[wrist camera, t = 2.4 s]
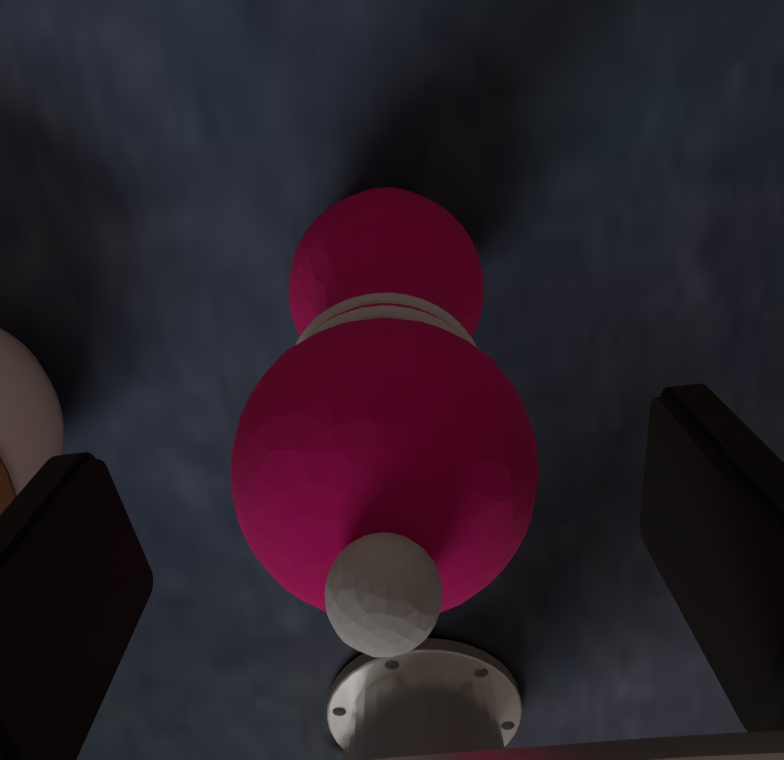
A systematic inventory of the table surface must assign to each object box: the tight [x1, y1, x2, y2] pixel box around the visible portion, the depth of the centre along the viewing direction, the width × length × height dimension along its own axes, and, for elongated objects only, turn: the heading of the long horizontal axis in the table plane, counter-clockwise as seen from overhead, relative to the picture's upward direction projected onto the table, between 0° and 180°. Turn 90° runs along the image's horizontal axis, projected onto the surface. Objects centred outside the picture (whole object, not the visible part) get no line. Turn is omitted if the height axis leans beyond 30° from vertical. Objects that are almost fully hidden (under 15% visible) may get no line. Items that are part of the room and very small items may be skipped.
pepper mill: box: [231, 187, 538, 657], centre depth 17 cm, size 7×7×20 cm
